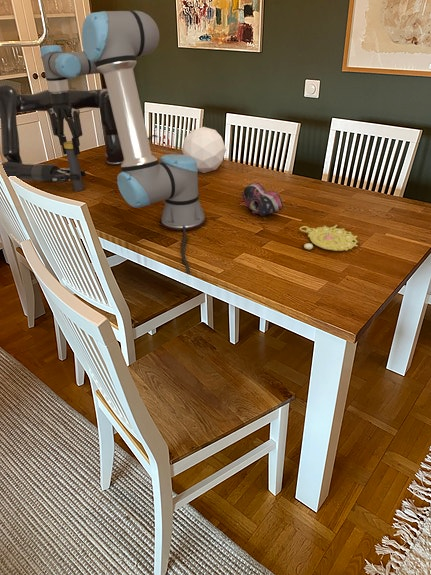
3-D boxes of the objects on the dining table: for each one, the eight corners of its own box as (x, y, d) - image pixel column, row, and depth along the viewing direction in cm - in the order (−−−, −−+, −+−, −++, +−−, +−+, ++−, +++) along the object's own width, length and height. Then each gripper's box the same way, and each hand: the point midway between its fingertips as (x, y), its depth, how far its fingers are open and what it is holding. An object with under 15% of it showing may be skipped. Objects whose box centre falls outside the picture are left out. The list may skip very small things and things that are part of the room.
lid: (79, 146, 179) (78, 141, 178) (70, 149, 175) (69, 144, 174) (70, 145, 181) (69, 140, 180) (61, 148, 177) (60, 143, 176)
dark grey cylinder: (71, 190, 187) (62, 145, 177) (78, 187, 190) (69, 142, 180) (79, 191, 185) (70, 146, 175) (86, 188, 188) (77, 143, 178)
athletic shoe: (254, 181, 170) (227, 189, 167) (283, 176, 151) (253, 185, 147) (260, 210, 173) (234, 218, 170) (290, 209, 154) (261, 219, 150)
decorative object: (343, 255, 128) (285, 234, 139) (342, 262, 130) (284, 241, 140) (372, 230, 142) (317, 213, 152) (371, 237, 143) (316, 219, 153)
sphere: (210, 188, 203) (207, 161, 184) (176, 167, 208) (170, 139, 189) (234, 159, 208) (234, 131, 189) (200, 139, 213) (197, 110, 194)
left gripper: (33, 169, 179) (71, 171, 176) (52, 159, 191) (88, 161, 187) (38, 187, 183) (75, 190, 180) (56, 176, 195) (91, 178, 191)
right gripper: (85, 90, 167) (95, 152, 180) (46, 89, 172) (59, 150, 185) (73, 94, 161) (85, 158, 174) (33, 92, 166) (47, 155, 179)
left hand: (82, 175), depth 184 cm, fingers closed on dark grey cylinder, 4 cm apart
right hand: (71, 153), depth 179 cm, fingers closed on lid, 5 cm apart
